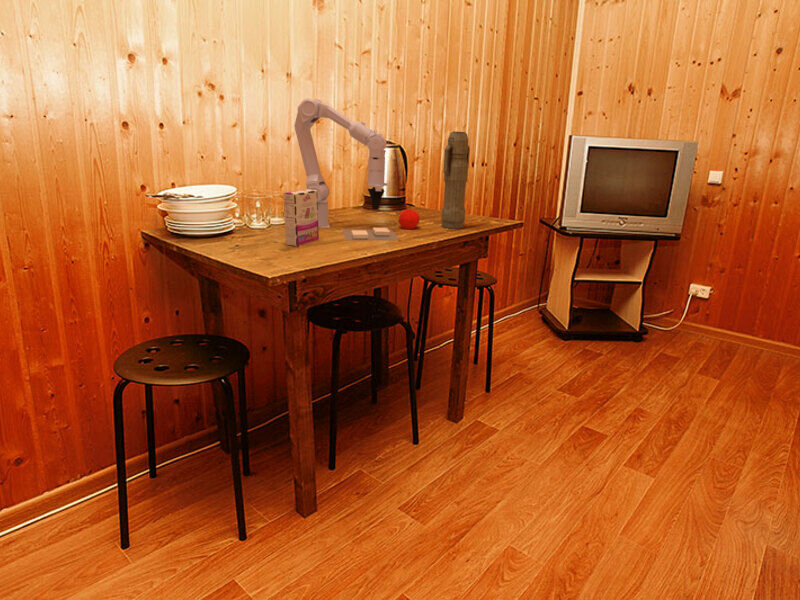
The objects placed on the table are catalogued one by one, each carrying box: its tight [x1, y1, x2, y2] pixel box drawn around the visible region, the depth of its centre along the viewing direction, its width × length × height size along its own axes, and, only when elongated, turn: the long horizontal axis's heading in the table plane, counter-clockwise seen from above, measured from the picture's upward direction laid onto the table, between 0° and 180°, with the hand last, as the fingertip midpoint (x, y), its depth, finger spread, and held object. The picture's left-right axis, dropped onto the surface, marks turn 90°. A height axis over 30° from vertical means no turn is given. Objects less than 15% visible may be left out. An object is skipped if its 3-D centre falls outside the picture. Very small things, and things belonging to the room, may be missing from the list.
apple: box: [398, 209, 421, 230], centre depth 198 cm, size 8×8×7 cm
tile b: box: [372, 227, 390, 236], centre depth 186 cm, size 5×2×7 cm
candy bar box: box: [283, 188, 320, 248], centre depth 170 cm, size 11×5×16 cm, turn 151°
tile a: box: [350, 229, 368, 239], centre depth 180 cm, size 5×2×7 cm
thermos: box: [440, 131, 471, 230], centre depth 202 cm, size 9×12×35 cm
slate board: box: [341, 229, 401, 241], centre depth 185 cm, size 18×18×1 cm
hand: (375, 209), depth 193 cm, fingers closed
